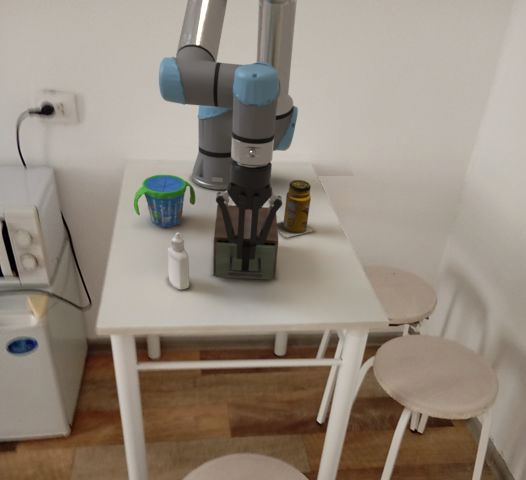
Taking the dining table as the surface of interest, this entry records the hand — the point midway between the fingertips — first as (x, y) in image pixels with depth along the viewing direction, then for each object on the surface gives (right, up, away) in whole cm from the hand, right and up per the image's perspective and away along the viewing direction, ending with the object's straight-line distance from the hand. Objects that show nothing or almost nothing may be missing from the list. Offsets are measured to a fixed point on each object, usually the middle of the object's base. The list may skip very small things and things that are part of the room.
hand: (244, 271), depth 116 cm
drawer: (0, +2, +8) cm, 8 cm away
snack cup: (-21, +16, +25) cm, 36 cm away
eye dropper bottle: (-14, -2, +3) cm, 15 cm away
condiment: (+11, +15, +27) cm, 32 cm away
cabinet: (-1, +5, +13) cm, 14 cm away
